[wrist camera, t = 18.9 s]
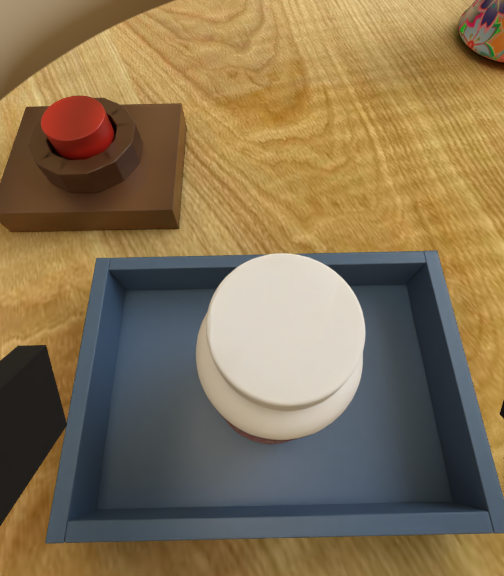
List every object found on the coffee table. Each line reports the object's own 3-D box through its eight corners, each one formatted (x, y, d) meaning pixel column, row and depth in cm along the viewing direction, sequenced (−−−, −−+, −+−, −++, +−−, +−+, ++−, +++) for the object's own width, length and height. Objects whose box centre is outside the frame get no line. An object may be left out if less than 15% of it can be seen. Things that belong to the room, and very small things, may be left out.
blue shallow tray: (82, 526, 18) (44, 543, 15) (117, 283, 24) (96, 257, 20) (467, 517, 18) (513, 533, 15) (412, 276, 24) (437, 250, 20)
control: (10, 232, 25) (-31, 196, 22) (41, 129, 29) (11, 84, 26) (179, 228, 25) (165, 191, 22) (186, 126, 29) (176, 80, 26)
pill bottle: (309, 460, 19) (373, 477, 9) (199, 422, 19) (141, 398, 9) (334, 349, 21) (407, 260, 11) (235, 320, 22) (219, 212, 12)
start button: (49, 162, 23) (33, 141, 22) (61, 118, 25) (48, 95, 23) (110, 160, 23) (99, 139, 22) (118, 117, 25) (108, 94, 23)
